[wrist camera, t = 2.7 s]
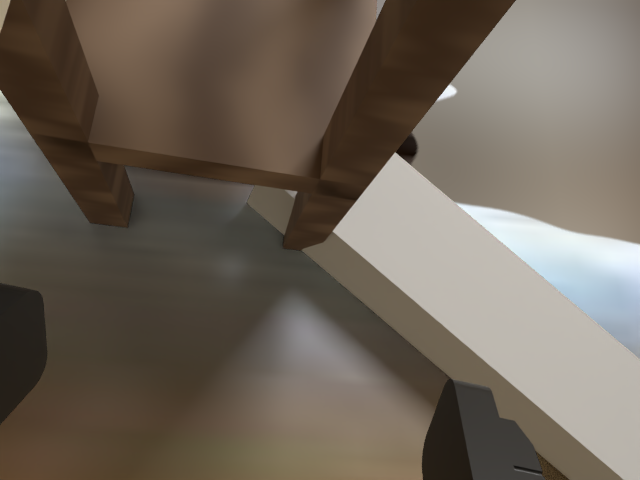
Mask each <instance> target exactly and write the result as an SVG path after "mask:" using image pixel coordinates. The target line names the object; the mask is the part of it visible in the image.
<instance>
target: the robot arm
mask: <svg viewBox="0 0 640 480" xmlns="http://www.w3.org/2000/svg"><path fill="white" fill-rule="evenodd" d="M46 360H47V344H46V331H45V318H44V305H43V298H42V296H41V294H40V293H39V292H38V291H35V290H30V289H26V288H21V287H16V286H11V285H7V284H2V283H0V424H1V423H2V422H3V421H4V420H5V419H6V418H7V417H8V415H9V414H10V413H11V412H12V411H13V410H14V409H15V408H16V406H17V405H18V404H19V403H20V402H21V401H22V400H23V399H24V398H25V396H26V395H27V394H28V393H29V392H30V391H31V390H32V389H33V387H34V386H35V385H36V384H37V382H38V381H39V379H40V377H41V375H42V373H43V371H44V368H45V365H46ZM422 473H423V480H545V477H543V476H542V469H541V466H540V463H539V460H538V457H537V454H536V451H535V449H534V446H533V444H532V443H531V441H530V440H529V439H528V438H527V436H526V435H525V434H524V432H523V431H522V430H521V428H520V427H519V426H518V425H517V423H516V422H515V421H514V420H509V419H504V418H500V417H499V414H498V410H497V407H496V403H495V400H494V396H493V393H492V390H491V389H490V388H489V387H487V386H482V385H477V384H473V383H468V382H463V381H458V380H454V379H449V380H448V381H447V382H446V384H445V386H444V389H443V391H442V394H441V397H440V399H439V402H438V405H437V408H436V410H435V413H434V416H433V418H432V421H431V424H430V427H429V429H428V432H427V435H426V438H425V442H424V448H423V456H422Z"/></svg>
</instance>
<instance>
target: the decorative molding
mask: <svg viewBox="0 0 640 480" xmlns="http://www.w3.org/2000/svg"><path fill="white" fill-rule="evenodd" d="M296 194H297V191H291V190H284V189H278V188H271V187H264V186H258V185H255V186H254V188H253V190H252V193H251V195H250V197H249V199H248V201H247V204H248V205H249V206H251V207H252V208H253V209H254V210H255V211H256V212H258V213H259V214H260V215H261V216H262V217H263V218H264V219H266V220H267V221H268V222H269V223H270V224H271V225H273V226H274V227H275V228H276V229H277V230H278V231H280V232H281V233H282V234H283V235H285V232H286V229H287V225H288V222H289V218H290V215H291V212H292V208H293V205H294V201H295V196H296ZM302 251H303V252H304V253H305V254H306V255H307V256H309V257H310V258H311V259H312V260H313V261H314V262H316V263H317V264H318V265H319V266H320V267H322V268H323V269H324V270H325V271H326V272H327V273H329V274H330V275H331V276H332V277H333V278H335V279H336V280H337V281H338V282H339V283H340V284H342V285H343V286H344V287H345V288H346V289H347V290H349V291H350V292H351V293H352V294H353V295H354V296H356V297H357V298H358V299H359V300H360V301H361V302H363V303H364V304H365V305H366V306H367V307H368V308H370V309H371V310H372V311H373V312H374V313H375V314H377V315H378V316H379V317H380V318H381V319H382V320H384V321H385V322H386V323H387V324H388V325H389V326H391V327H392V328H393V329H394V330H395V331H396V332H398V333H399V334H400V335H401V336H402V337H403V338H404V339H406V340H407V341H408V342H409V343H410V344H411V345H413V346H414V347H415V348H416V349H417V350H418V351H420V352H421V353H422V354H423V355H424V356H425V357H427V358H428V359H429V360H430V361H431V362H432V363H434V364H435V365H436V366H437V367H438V368H440V369H441V370H442V371H443V372H444V373H445V374H447V375H448V376H449V377H450V378H451V379H454V380H458V381H463V382H468V383H473V384H477V385H482V386H487V387H489V388H490V389H491V390H492V393H493V396H494V400H495V403H496V407H497V410H498V414H499V417H500V418H504V419H509V420H514V421H515V422H516V423H517V425H518V426H519V427H520V428H521V430H522V431H523V432H524V434H525V435H526V436H527V438H528V439H529V440H530V441H531V443H532V444H533V446H534V449H535V451H536V452H537V453H539V454H540V455H541V456H542V457H543V458H544V459H546V460H547V461H548V462H549V463H550V464H552V465H553V466H554V467H555V468H556V469H557V470H559V471H560V472H561V473H562V474H563V475H565V476H566V477H567V478H568V479H569V480H640V359H639V358H638V357H636V356H635V355H634V354H633V353H632V352H630V351H629V350H628V349H627V348H626V347H625V346H623V345H622V344H621V343H620V342H619V341H617V340H616V339H615V338H614V337H613V336H612V335H610V334H609V333H608V332H607V331H606V330H604V329H603V328H602V327H601V326H600V325H599V324H597V323H596V322H595V321H594V320H593V319H591V318H590V317H589V316H588V315H587V314H586V313H584V312H583V311H582V310H581V309H580V308H578V307H577V306H576V305H575V304H574V303H573V302H571V301H570V300H569V299H568V298H567V297H565V296H564V295H563V294H562V293H561V292H560V291H558V290H557V289H556V288H555V287H554V286H552V285H551V284H550V283H549V282H548V281H547V280H545V279H544V278H543V277H542V276H541V275H539V274H538V273H537V272H536V271H535V270H534V269H532V268H531V267H530V266H529V265H528V264H526V263H525V262H524V261H523V260H522V259H521V258H519V257H518V256H517V255H516V254H515V253H513V252H512V251H511V250H510V249H509V248H508V247H506V246H505V245H504V244H503V243H502V242H500V241H499V240H498V239H497V238H496V237H495V236H493V235H492V234H491V233H490V232H489V231H487V230H486V229H485V228H484V227H483V226H482V225H480V224H479V223H478V222H477V221H476V220H474V219H473V218H472V217H471V216H470V215H469V214H467V213H466V212H465V211H464V210H463V209H461V208H460V207H459V206H458V205H457V204H456V203H454V202H453V201H452V200H451V199H449V198H448V197H447V196H446V195H445V194H444V193H443V192H441V191H440V190H439V189H438V188H436V187H435V186H434V185H433V184H432V183H431V182H429V181H428V180H427V179H426V178H425V177H424V176H422V175H421V174H420V173H419V172H418V171H416V170H415V169H414V168H413V167H412V166H411V165H409V164H408V163H407V162H406V161H405V160H403V159H402V158H401V157H400V156H399V155H398V154H396V153H394V154H393V156H392V157H391V158H390V159H389V161H388V162H387V163H386V164H385V166H384V167H383V168H382V170H381V171H380V172H379V173H378V175H377V176H376V177H375V178H374V180H373V181H372V182H371V183H370V185H369V186H368V187H367V188H366V190H365V191H364V192H363V194H362V195H361V196H360V197H359V199H358V200H357V201H356V202H355V204H354V205H353V206H352V207H351V209H350V210H349V211H348V212H347V214H346V215H345V216H344V217H343V219H342V220H341V221H340V223H339V224H338V225H337V226H336V228H335V229H334V230H333V231H332V233H331V234H330V235H329V236H328V238H327V239H326V240H325V241H324V242H323V243H320V244H317V245H314V246H310V247H307V248H304V249H302Z"/></svg>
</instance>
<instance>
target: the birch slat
mask: <svg viewBox="0 0 640 480" xmlns="http://www.w3.org/2000/svg"><path fill="white" fill-rule="evenodd" d="M10 1H11V0H0V32H1V29H2V26H3V23H4V19H5V16H6V13H7V10H8V7H9V4H10Z"/></svg>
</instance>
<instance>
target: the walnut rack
mask: <svg viewBox="0 0 640 480" xmlns="http://www.w3.org/2000/svg"><path fill="white" fill-rule="evenodd" d="M515 1H516V0H386V1H385V3H384V5H383V7H382V10H381V12H380V14H379V16H378V18H377V20H376V10H377V0H66V1H65V0H11V1H10V4H9V7H8V10H7V13H6V16H5V19H4V23H3V26H2V29H1V32H0V90H1V91H2V93H3V94H4V96H5V97H6V99H7V100H8V102H9V103H10V105H11V106H12V108H13V109H14V111H15V112H16V114H17V115H18V117H19V118H20V120H21V121H22V123H23V124H24V126H25V127H26V129H27V130H28V132H29V133H30V134H31V136H32V137H33V139H34V140H35V142H36V143H37V145H38V146H39V148H40V149H41V151H42V152H43V154H44V155H45V157H46V158H47V160H48V161H49V163H50V164H51V166H52V167H53V169H54V170H55V172H56V173H57V175H58V176H59V178H60V179H61V181H62V182H63V183H64V185H65V186H66V188H67V189H68V191H69V192H70V194H71V195H72V197H73V198H74V200H75V201H76V203H77V204H78V206H79V207H80V209H81V210H82V212H83V213H84V215H85V216H86V218H87V219H88V221H89V222H90V223H95V224H103V225H110V226H118V227H126V228H128V224H129V219H130V214H131V209H132V204H133V199H134V193H133V190H132V187H131V184H130V181H129V179H128V176H127V173H126V170H125V167H124V165H127V166H134V167H140V168H147V169H153V170H160V171H166V172H173V173H179V174H186V175H192V176H199V177H206V178H212V179H219V180H225V181H232V182H238V183H245V184H251V185H258V186H264V187H271V188H278V189H284V190H291V191H297V194H296V196H295V201H294V205H293V208H292V212H291V215H290V218H289V222H288V225H287V229H286V232H285V235H284V240H283V248H285V249H293V250H300V251H302V249H304V248H307V247H310V246H314V245H317V244H320V243H323V242H324V241H325V240H326V239H327V238H328V236H329V235H330V234H331V233H332V231H333V230H334V229H335V228H336V226H337V225H338V224H339V223H340V221H341V220H342V219H343V217H344V216H345V215H346V214H347V212H348V211H349V210H350V209H351V207H352V206H353V205H354V204H355V202H356V201H357V200H358V199H359V197H360V196H361V195H362V194H363V192H364V191H365V190H366V188H367V187H368V186H369V185H370V183H371V182H372V181H373V180H374V178H375V177H376V176H377V175H378V173H379V172H380V171H381V170H382V168H383V167H384V166H385V164H386V163H387V162H388V161H389V159H390V158H391V157H392V156H393V154H394V153H395V152H396V151H397V149H398V148H399V147H400V146H401V144H402V143H403V142H404V141H405V139H406V138H407V137H408V135H409V134H410V133H411V132H412V130H413V129H414V128H415V127H416V125H417V124H418V123H419V122H420V120H421V119H422V118H423V117H424V115H425V114H426V113H427V112H428V110H429V109H430V108H431V106H432V105H433V104H434V103H435V101H436V100H437V99H438V98H439V96H440V95H441V94H442V93H443V91H444V90H445V89H446V88H447V86H448V85H449V84H450V82H451V81H452V80H453V78H454V77H455V76H456V75H457V74H458V72H459V71H460V70H461V69H462V67H463V66H464V65H465V63H466V62H467V61H468V60H469V59H470V57H471V56H472V55H473V53H474V52H475V51H476V49H477V48H478V47H479V46H480V44H481V43H482V42H483V41H484V40H485V38H486V37H487V36H488V35H489V33H490V32H491V31H492V30H493V28H494V27H495V26H496V24H497V23H498V22H499V21H500V19H501V18H502V17H503V16H504V14H505V13H506V12H507V11H508V9H509V8H510V7H511V6H512V4H513V3H514V2H515Z"/></svg>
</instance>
